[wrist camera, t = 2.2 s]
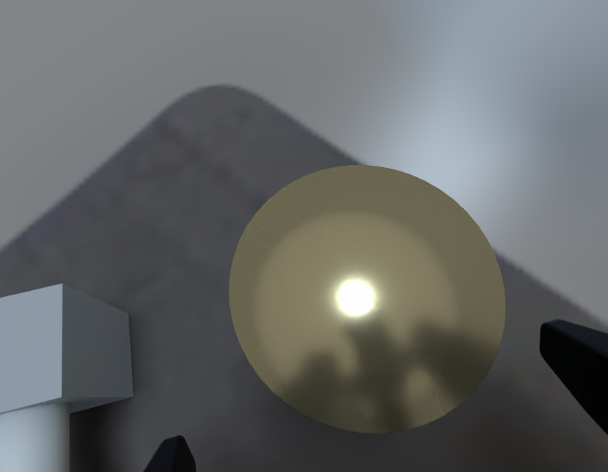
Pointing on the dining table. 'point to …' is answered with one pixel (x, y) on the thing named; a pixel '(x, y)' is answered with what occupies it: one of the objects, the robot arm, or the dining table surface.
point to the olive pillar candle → (367, 299)
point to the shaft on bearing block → (56, 371)
